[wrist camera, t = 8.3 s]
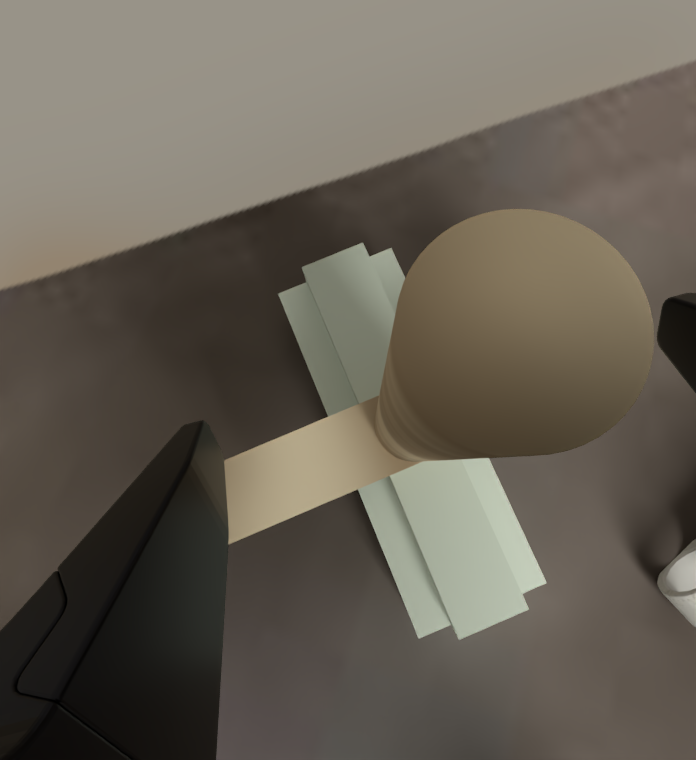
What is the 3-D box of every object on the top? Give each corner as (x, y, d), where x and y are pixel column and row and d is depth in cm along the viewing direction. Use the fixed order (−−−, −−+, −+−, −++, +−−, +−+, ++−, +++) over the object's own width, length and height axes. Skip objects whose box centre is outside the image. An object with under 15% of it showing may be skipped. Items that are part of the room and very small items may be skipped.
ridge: (520, 565, 20) (563, 594, 16) (410, 613, 20) (423, 655, 15) (387, 276, 23) (393, 230, 18) (289, 316, 22) (270, 279, 18)
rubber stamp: (572, 321, 17) (1086, -35, 5) (604, 381, 17) (1250, 157, 5) (210, 473, 17) (-217, 498, 4) (233, 539, 16) (-167, 767, 4)
